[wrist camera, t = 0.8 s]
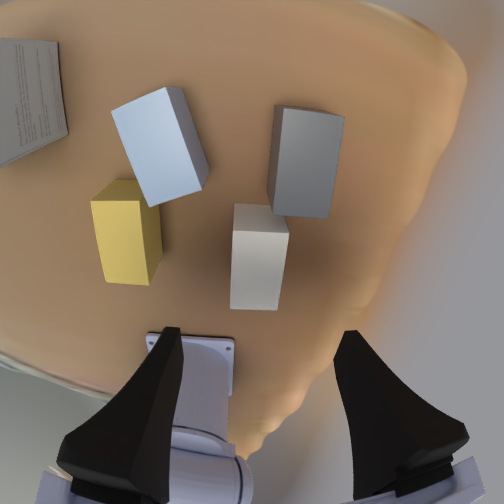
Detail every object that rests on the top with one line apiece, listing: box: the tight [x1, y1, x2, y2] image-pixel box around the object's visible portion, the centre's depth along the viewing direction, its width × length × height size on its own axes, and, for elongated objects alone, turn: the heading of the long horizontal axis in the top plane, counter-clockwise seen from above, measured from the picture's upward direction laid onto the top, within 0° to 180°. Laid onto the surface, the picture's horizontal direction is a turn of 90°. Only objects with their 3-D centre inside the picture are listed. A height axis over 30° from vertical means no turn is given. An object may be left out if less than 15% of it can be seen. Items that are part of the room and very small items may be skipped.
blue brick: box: [111, 87, 210, 207], centre depth 15 cm, size 6×3×4 cm, turn 16°
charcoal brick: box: [267, 105, 345, 219], centre depth 16 cm, size 6×3×4 cm, turn 176°
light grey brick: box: [230, 203, 289, 310], centre depth 19 cm, size 6×3×4 cm, turn 176°
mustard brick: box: [91, 179, 163, 286], centre depth 18 cm, size 6×3×4 cm, turn 176°
